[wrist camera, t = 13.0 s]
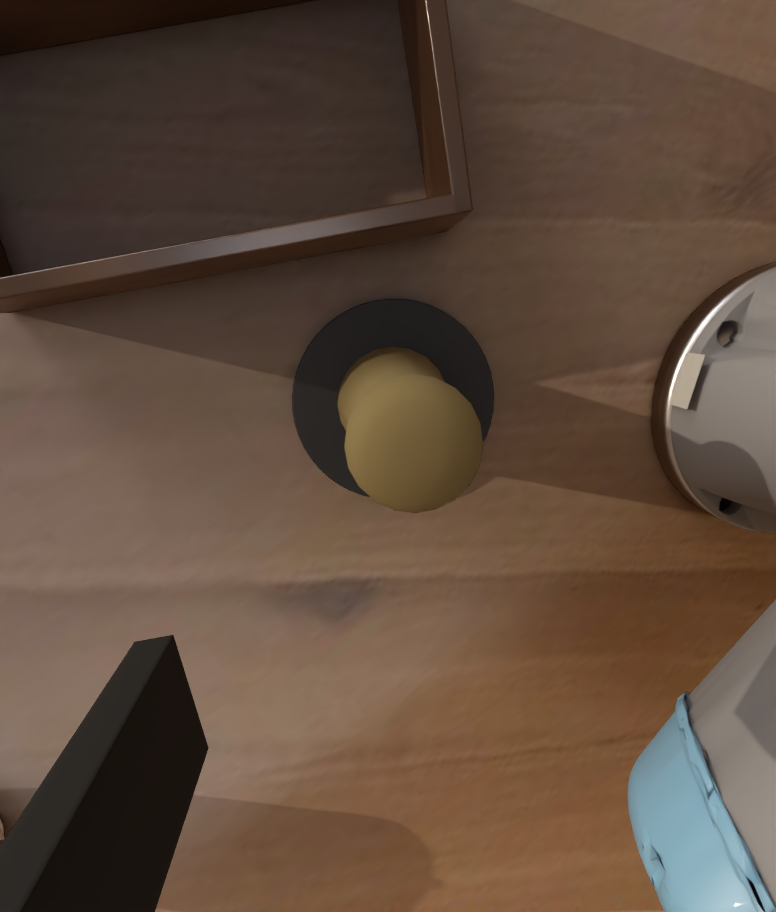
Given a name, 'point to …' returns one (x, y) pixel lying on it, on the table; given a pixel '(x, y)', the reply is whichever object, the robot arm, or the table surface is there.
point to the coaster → (363, 335)
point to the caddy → (448, 201)
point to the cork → (407, 431)
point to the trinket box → (1, 831)
